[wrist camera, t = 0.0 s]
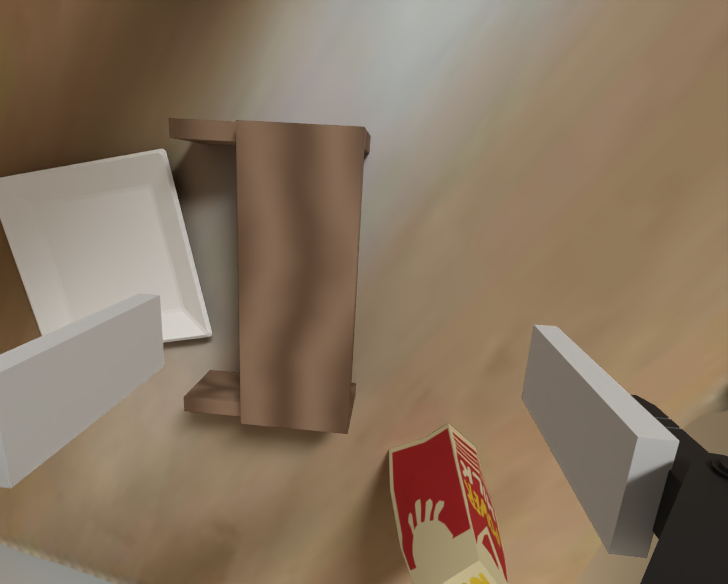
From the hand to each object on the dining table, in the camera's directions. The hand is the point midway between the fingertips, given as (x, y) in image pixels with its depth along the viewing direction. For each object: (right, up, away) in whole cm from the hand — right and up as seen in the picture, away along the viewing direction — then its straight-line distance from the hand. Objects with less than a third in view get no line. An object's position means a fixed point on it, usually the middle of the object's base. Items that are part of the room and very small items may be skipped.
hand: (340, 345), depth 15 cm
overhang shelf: (-7, +4, +29) cm, 30 cm away
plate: (-25, +6, +30) cm, 40 cm away
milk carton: (+9, -18, +33) cm, 39 cm away
